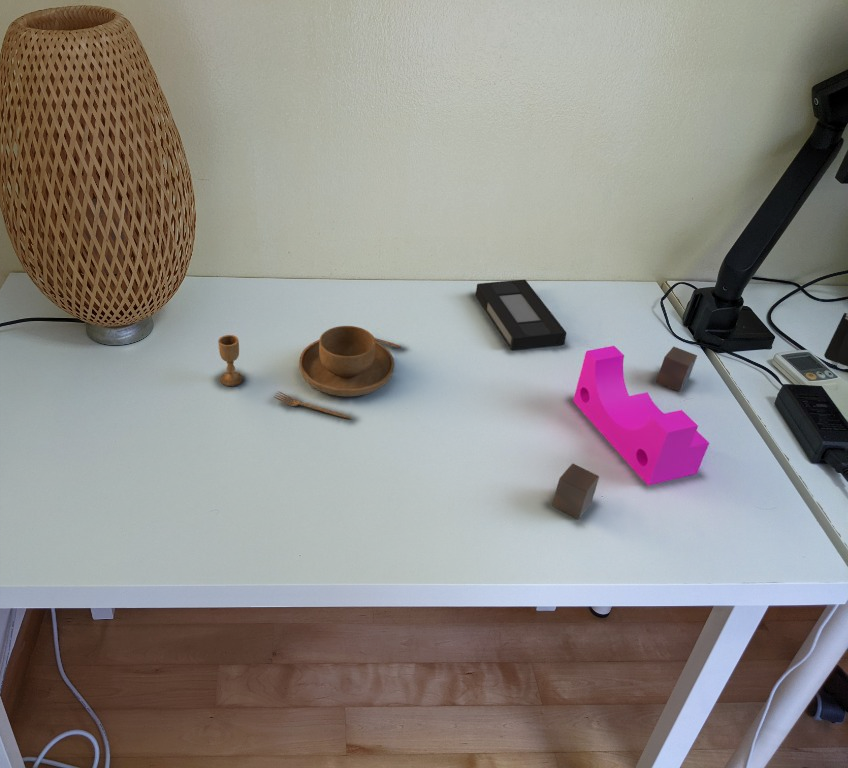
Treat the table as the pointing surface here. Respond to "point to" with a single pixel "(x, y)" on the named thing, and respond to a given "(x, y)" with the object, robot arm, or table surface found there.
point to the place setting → (330, 364)
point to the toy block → (637, 421)
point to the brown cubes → (582, 483)
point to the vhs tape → (520, 315)
